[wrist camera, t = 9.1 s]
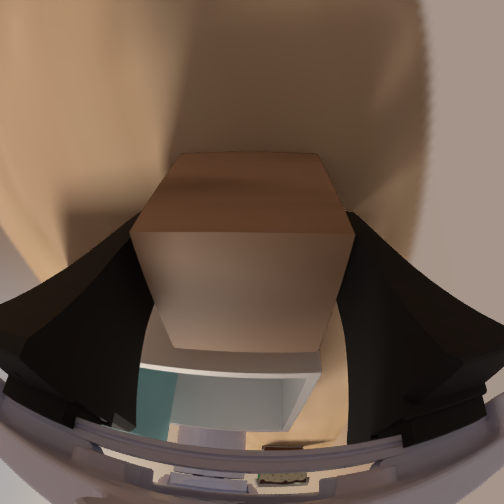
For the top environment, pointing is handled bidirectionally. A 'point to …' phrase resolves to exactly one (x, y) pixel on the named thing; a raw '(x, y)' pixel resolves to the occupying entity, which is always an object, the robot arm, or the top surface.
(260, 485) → the food container
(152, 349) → the tote
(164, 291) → the walnut cube
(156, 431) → the teal cylinder
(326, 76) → the top surface
